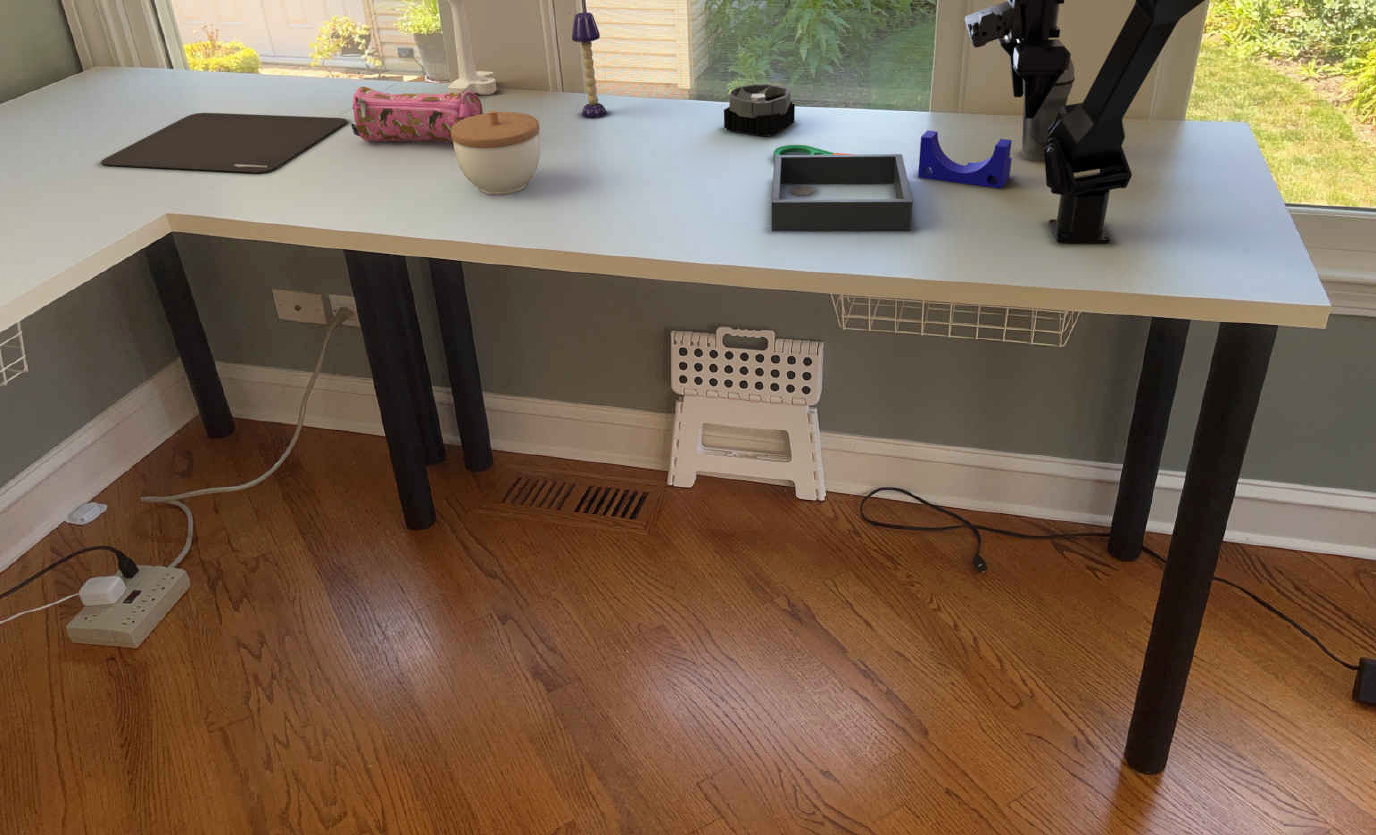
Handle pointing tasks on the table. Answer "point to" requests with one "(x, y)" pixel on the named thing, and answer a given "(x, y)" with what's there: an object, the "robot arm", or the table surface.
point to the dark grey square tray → (840, 210)
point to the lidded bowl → (497, 150)
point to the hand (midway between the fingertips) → (1023, 107)
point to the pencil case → (410, 115)
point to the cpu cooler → (759, 110)
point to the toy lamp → (588, 60)
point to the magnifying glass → (804, 150)
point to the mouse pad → (226, 142)
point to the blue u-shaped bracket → (979, 173)
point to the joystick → (467, 58)
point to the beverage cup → (1045, 117)
